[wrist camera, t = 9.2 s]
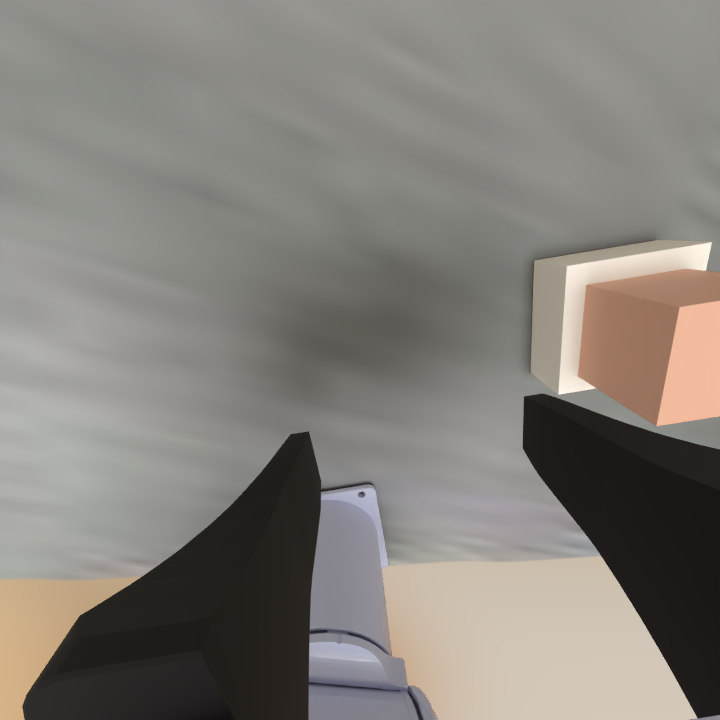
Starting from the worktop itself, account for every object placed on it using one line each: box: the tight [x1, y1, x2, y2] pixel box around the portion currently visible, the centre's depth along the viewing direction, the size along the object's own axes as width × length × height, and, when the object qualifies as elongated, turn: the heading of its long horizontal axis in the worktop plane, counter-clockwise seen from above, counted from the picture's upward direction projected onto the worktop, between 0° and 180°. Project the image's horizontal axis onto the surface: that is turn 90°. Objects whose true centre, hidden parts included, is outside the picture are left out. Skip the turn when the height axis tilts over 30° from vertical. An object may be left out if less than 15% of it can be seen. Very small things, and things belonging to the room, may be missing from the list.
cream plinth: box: [531, 240, 712, 394], centre depth 19 cm, size 7×7×3 cm
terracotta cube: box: [578, 269, 720, 426], centre depth 15 cm, size 5×5×5 cm
